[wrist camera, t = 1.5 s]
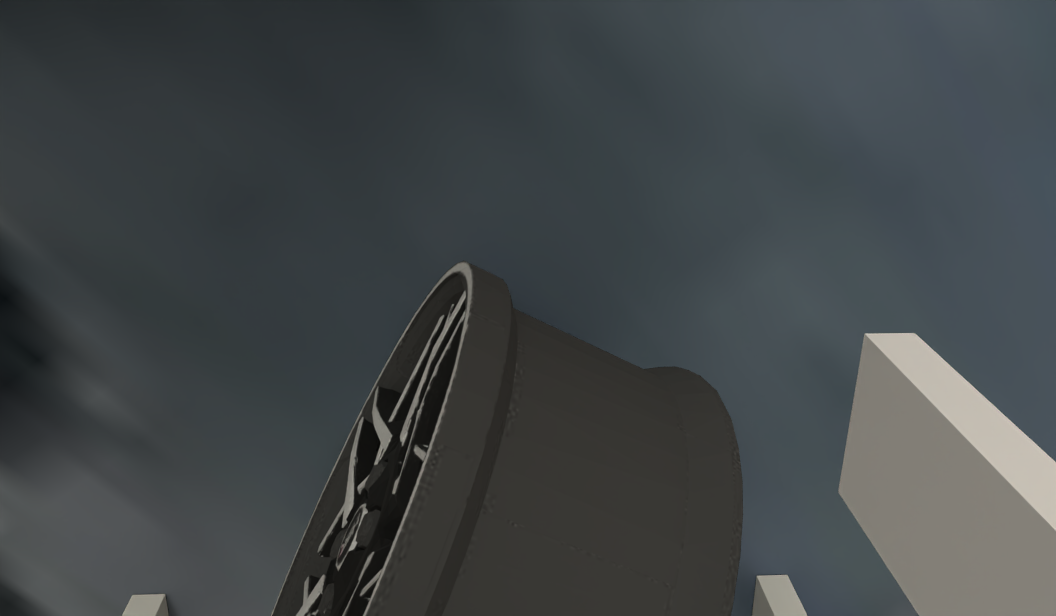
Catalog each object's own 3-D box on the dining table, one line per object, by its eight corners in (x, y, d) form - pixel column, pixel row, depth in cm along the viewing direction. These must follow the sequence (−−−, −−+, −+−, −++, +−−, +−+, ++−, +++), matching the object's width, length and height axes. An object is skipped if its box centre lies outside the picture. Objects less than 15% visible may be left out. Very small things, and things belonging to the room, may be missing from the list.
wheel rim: (472, 194, 38) (474, 447, 19) (666, 290, 40) (837, 602, 21) (279, 568, 44) (139, 1034, 25) (456, 635, 46) (446, 1112, 27)
